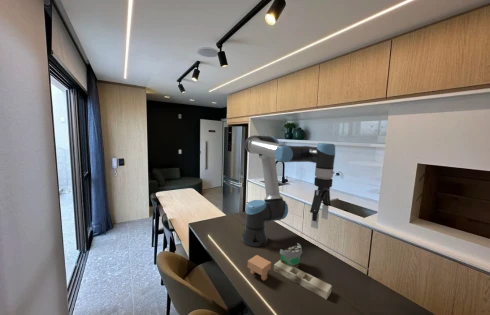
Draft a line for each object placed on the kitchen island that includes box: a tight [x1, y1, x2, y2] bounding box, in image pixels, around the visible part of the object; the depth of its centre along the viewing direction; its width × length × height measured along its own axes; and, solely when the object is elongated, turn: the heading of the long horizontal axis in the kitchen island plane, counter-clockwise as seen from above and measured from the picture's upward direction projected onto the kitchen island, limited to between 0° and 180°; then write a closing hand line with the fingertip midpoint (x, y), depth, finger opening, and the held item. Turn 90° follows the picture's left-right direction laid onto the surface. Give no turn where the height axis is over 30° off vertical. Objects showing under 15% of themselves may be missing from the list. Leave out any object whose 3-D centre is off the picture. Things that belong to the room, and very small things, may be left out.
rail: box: [273, 259, 333, 300], centre depth 86 cm, size 24×5×3 cm, turn 48°
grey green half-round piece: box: [279, 242, 303, 269], centre depth 95 cm, size 12×6×10 cm, turn 123°
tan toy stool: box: [247, 254, 272, 282], centre depth 89 cm, size 8×6×6 cm
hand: (319, 222), depth 93 cm, fingers open, 13 cm apart
